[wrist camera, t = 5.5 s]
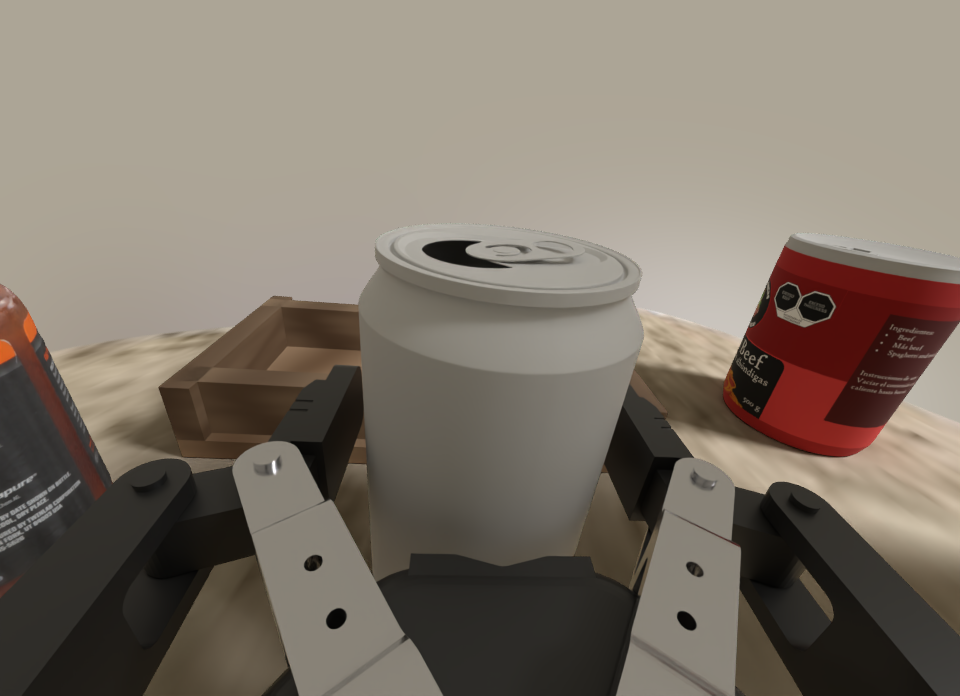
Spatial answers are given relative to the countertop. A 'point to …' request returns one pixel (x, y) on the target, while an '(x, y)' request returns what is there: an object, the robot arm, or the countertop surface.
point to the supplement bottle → (38, 448)
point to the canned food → (841, 340)
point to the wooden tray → (270, 376)
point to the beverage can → (490, 389)
